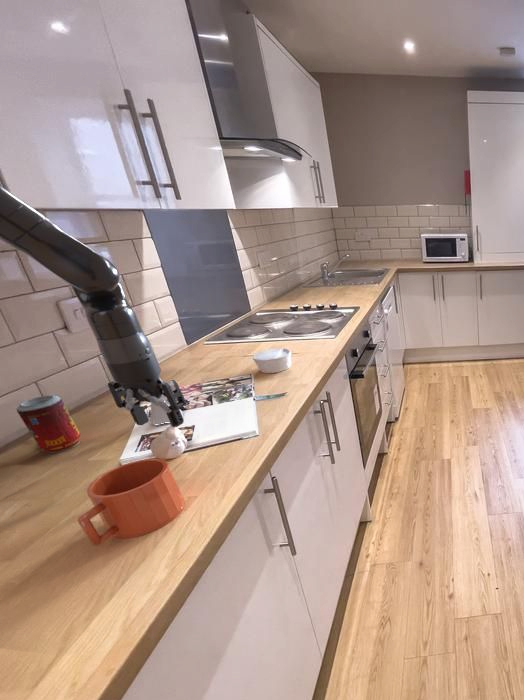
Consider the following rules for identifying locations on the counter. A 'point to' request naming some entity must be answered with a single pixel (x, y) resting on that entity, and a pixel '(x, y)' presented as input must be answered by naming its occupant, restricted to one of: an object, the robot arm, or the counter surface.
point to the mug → (133, 500)
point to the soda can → (49, 423)
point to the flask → (159, 413)
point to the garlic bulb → (169, 444)
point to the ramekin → (273, 360)
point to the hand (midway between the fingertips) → (161, 424)
